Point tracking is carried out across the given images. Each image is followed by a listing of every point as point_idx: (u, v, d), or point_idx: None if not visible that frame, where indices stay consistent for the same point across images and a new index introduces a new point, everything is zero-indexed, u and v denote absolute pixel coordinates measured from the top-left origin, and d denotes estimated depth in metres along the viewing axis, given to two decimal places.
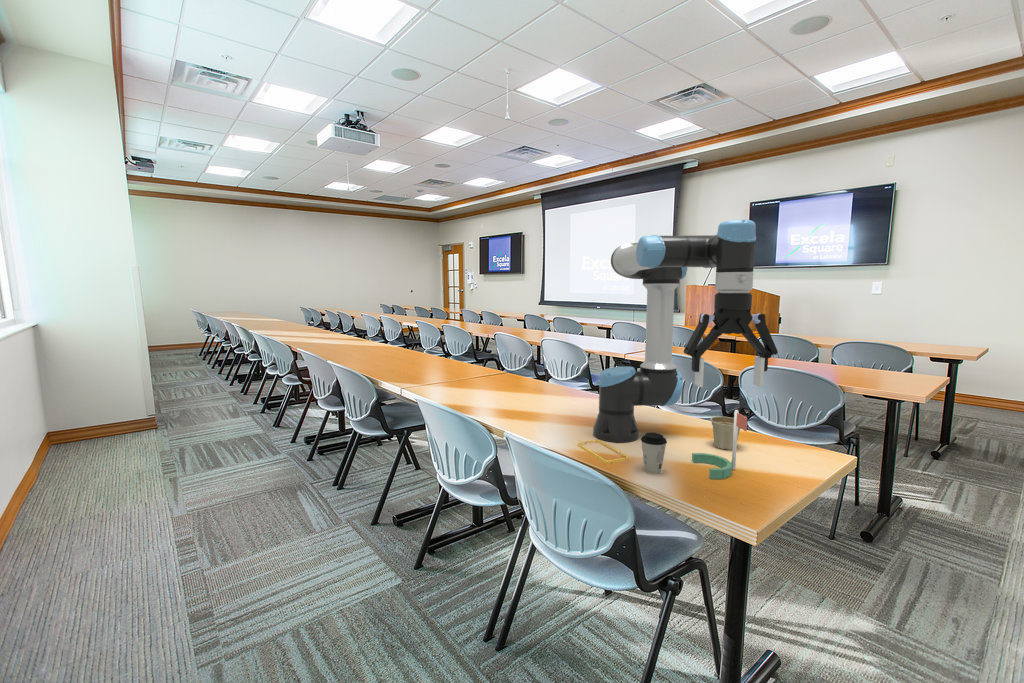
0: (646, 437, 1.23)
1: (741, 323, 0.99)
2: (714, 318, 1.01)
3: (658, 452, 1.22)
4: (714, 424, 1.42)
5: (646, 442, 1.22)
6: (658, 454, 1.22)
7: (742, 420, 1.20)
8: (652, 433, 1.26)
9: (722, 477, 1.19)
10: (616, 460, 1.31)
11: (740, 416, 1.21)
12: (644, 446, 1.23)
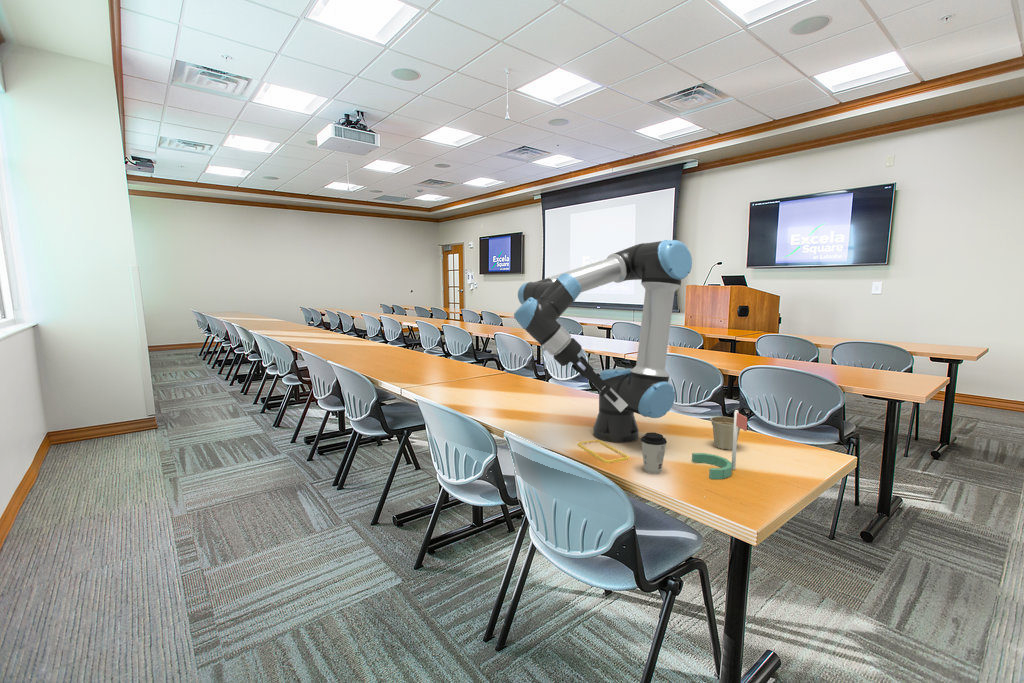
0: (646, 437, 1.23)
1: None
2: None
3: (658, 452, 1.22)
4: (714, 424, 1.42)
5: (646, 442, 1.22)
6: (658, 454, 1.22)
7: (742, 420, 1.20)
8: (652, 433, 1.26)
9: (722, 477, 1.19)
10: (616, 460, 1.31)
11: (740, 416, 1.21)
12: (644, 446, 1.23)
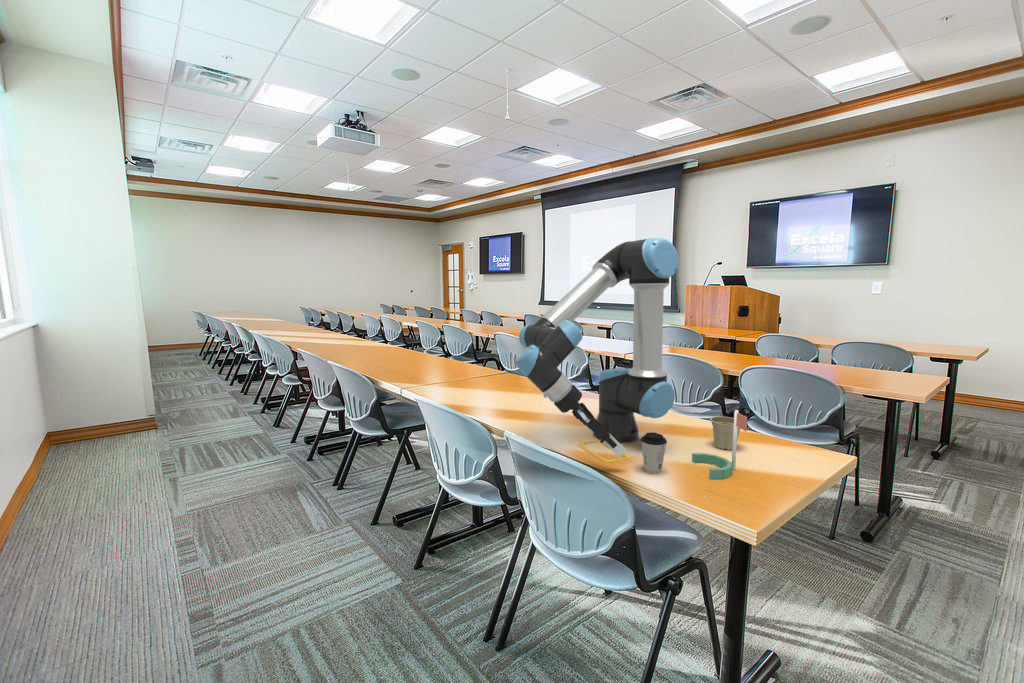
0: (646, 437, 1.23)
1: None
2: None
3: (658, 452, 1.22)
4: (714, 424, 1.42)
5: (646, 442, 1.22)
6: (658, 454, 1.22)
7: (742, 420, 1.20)
8: (652, 433, 1.26)
9: (722, 477, 1.19)
10: (616, 460, 1.31)
11: (740, 416, 1.21)
12: (644, 446, 1.23)
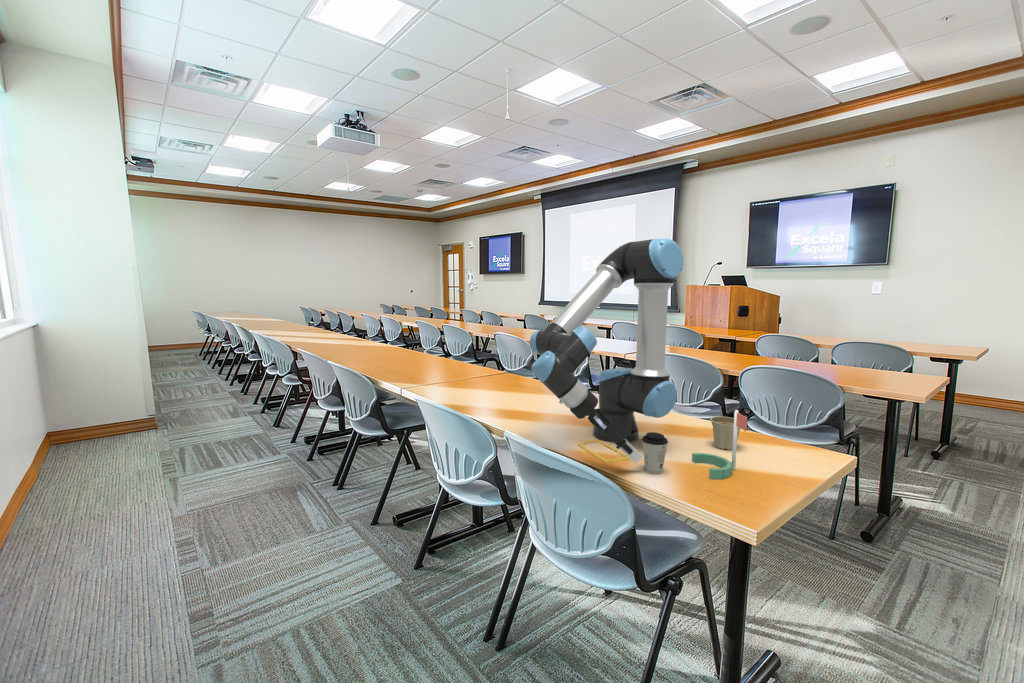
0: (647, 437, 1.23)
1: None
2: None
3: (659, 452, 1.21)
4: (714, 424, 1.42)
5: (647, 442, 1.22)
6: (659, 454, 1.22)
7: (742, 420, 1.20)
8: (653, 433, 1.26)
9: (722, 477, 1.19)
10: (616, 460, 1.31)
11: (740, 416, 1.21)
12: (645, 446, 1.23)
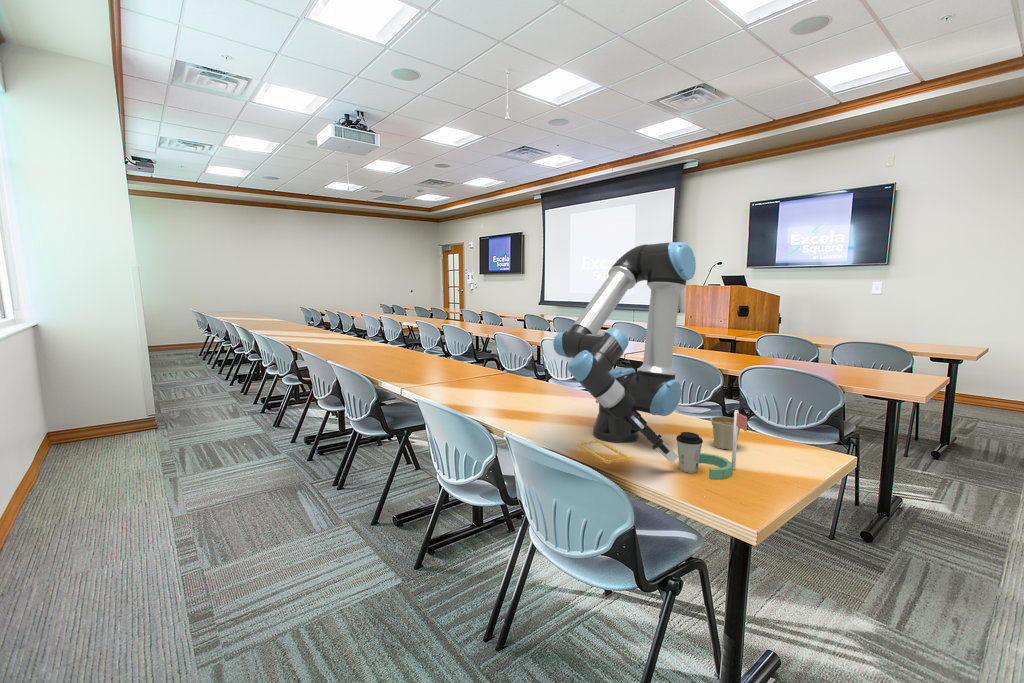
0: (683, 437, 1.23)
1: None
2: None
3: (696, 451, 1.22)
4: (714, 424, 1.42)
5: (684, 442, 1.22)
6: (696, 454, 1.22)
7: (742, 420, 1.20)
8: (687, 432, 1.26)
9: (722, 477, 1.19)
10: (616, 460, 1.31)
11: (740, 416, 1.21)
12: (681, 446, 1.23)
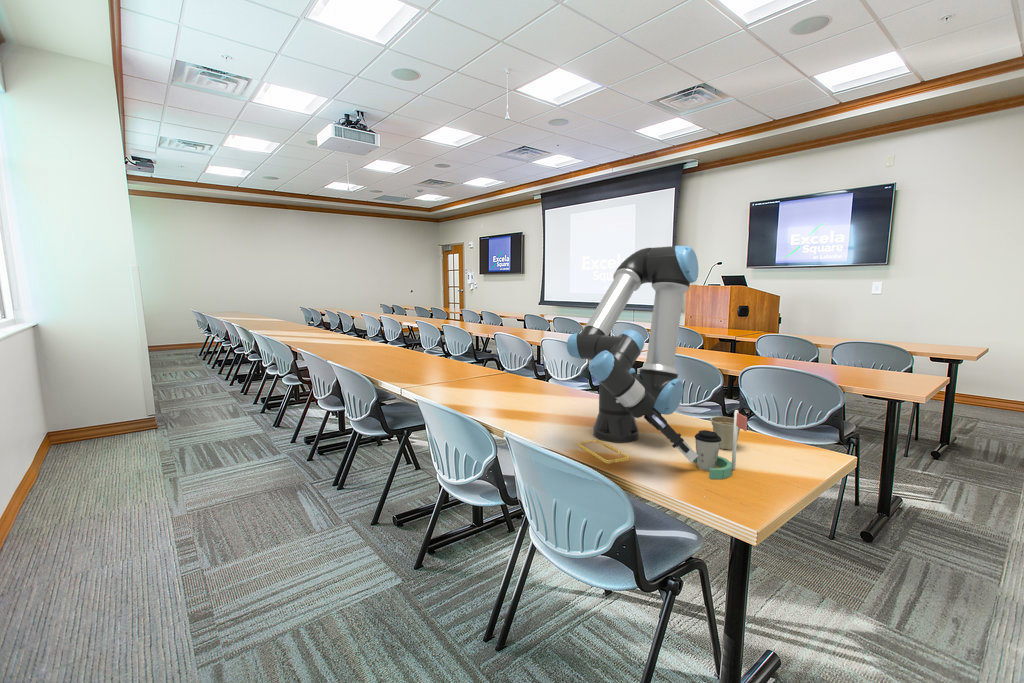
0: (702, 435, 1.24)
1: None
2: None
3: (716, 449, 1.23)
4: (714, 424, 1.42)
5: (704, 440, 1.23)
6: (715, 452, 1.24)
7: (742, 420, 1.20)
8: (704, 431, 1.27)
9: (722, 477, 1.19)
10: (616, 460, 1.31)
11: (740, 416, 1.21)
12: (701, 444, 1.24)
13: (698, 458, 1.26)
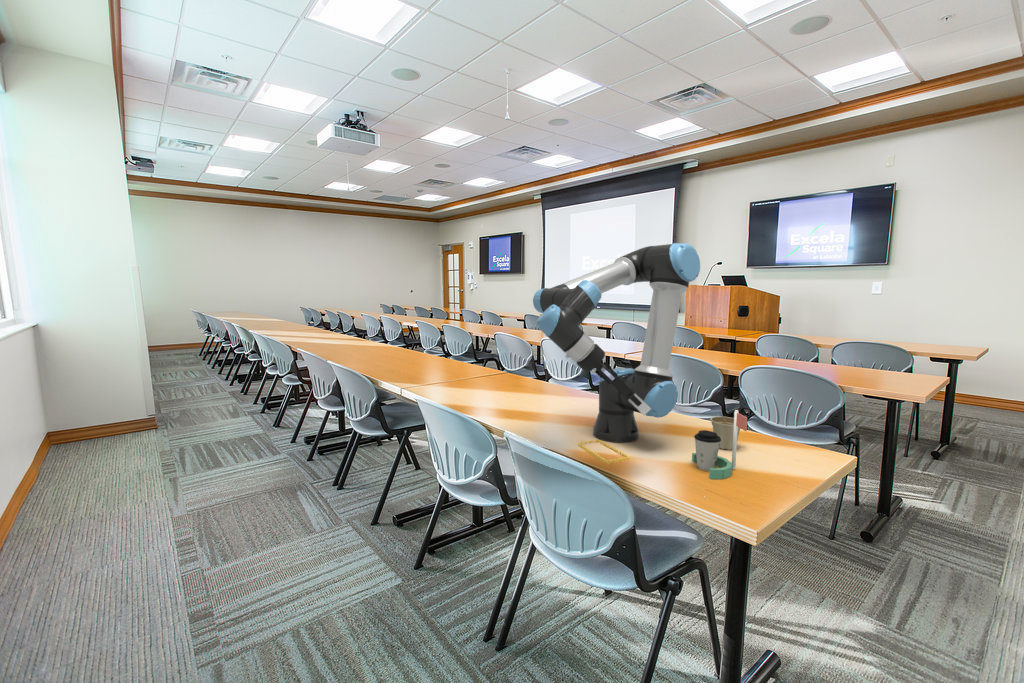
0: (702, 435, 1.24)
1: None
2: None
3: (715, 449, 1.23)
4: (714, 424, 1.42)
5: (704, 440, 1.23)
6: (715, 452, 1.24)
7: (742, 420, 1.20)
8: (704, 431, 1.27)
9: (722, 477, 1.19)
10: (617, 460, 1.31)
11: (740, 416, 1.21)
12: (701, 444, 1.24)
13: (698, 458, 1.26)
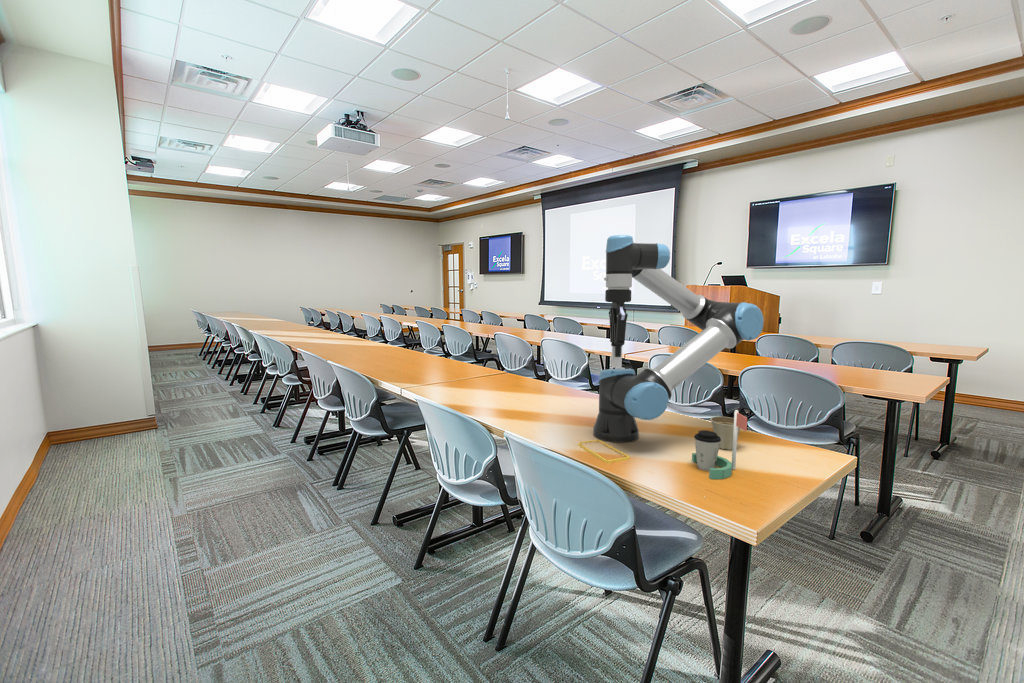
0: (702, 435, 1.24)
1: (612, 311, 1.34)
2: None
3: (715, 449, 1.23)
4: (714, 424, 1.42)
5: (704, 440, 1.23)
6: (715, 452, 1.24)
7: (742, 420, 1.20)
8: (704, 431, 1.27)
9: (722, 477, 1.19)
10: (617, 460, 1.31)
11: (740, 416, 1.21)
12: (701, 445, 1.24)
13: (698, 458, 1.26)
